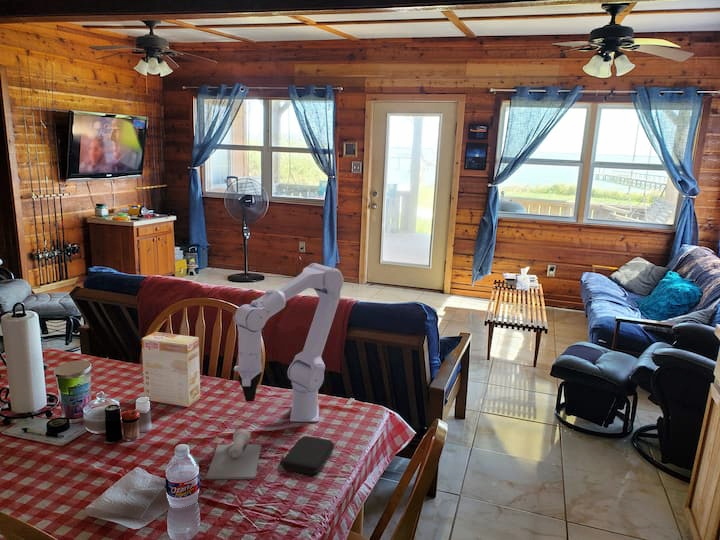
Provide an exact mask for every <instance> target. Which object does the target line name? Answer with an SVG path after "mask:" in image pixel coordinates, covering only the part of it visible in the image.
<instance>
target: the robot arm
mask: <svg viewBox="0 0 720 540" xmlns="http://www.w3.org/2000/svg"><path fill="white" fill-rule="evenodd" d="M344 282H345V278H344V276H343V274H342V272H341V271H340V269H339V268H336V267H335V268H334V267H333V268H332V267H330V266H327V265H323V264H319V263H317V262H313V263H310V264H309V265H308V266H306V267H304V268H302V272H301V273H300V274H299V275H297V276H295V278H293V279H291V281H289V282H287V283H286V284H285V285H284V286H282V287H281V288H280V289H279V290H278V289H267V290H266V291H265V294H262V296H260V297H258V298H256V299H253V300H252V301H250V302H251V303H249V304H247V303H245V304H242V305H241V306H239V307H238V308H237V309H236V311H235V315H233V317H232V318H233V321H234V323H235V324H236V326H237V333H238V335H237V337H238V339H237V340H238V341H237V342H238V365H235V366H234V368H233V371H234V372H238V378H237V381H238V383H239V384H240V386H241V388H242V391H243V396H244V400H245V402H251V403H252V402H255V399H256V395H257V388H258V385H259V383H260V380H261V378H262V375H263V374H262V373H263V372H262V371H263V366H262V329H263V328H264V327H265V325H266V323H267V321H269V320H270V318H271V317H272V316H275V315H276V314H277V313H279V312H280V311H281V310H283V309H284V308H285V307H286V303H287V302H288V301H289V300H291V299H293V298H294V297H296V296H298V295H300V294H301V293H302V292H304V291H306V290H307V289H313V290H314V291H315V292H316V295H317V296H318V299H319V301H318V303H317V306H316V309H315V312H314V315H313V319H312V322H311V325H310V327H309V331H308V334H307V336H306V340H305V343H304V347H303V349H302V350H301V351H300V352H299V353H297V354H296V355H294V359H293V361H292V362H291V363H290V364H289V367H287V368H288V369H287V378H288V379H289V380H290V381H291V386H292V399H291V400H292V403H291V404H292V405H291V410H290V418H289V421H290V422H292V423H293V422H297V423H299V422H303V423H306V422H310V423H311V422H313V423H315V422H316V423H317V422H318V423H319V416H320V405H319V404H318V401H319V390H320V388H321V387H322V385H323V383H324V381H325V369H326V365H325V363H324V360H323V359H322V358H323V357H322V355H323V352H324V350H325V346H326V342H327V340H328V336H329V334H330V330H331V328H332V324H333V321H334V318H335V314H336V313H337V312H336V311H337V308H338V305H339V303H340V299H341V290H342V287H343V284H344Z"/></svg>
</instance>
